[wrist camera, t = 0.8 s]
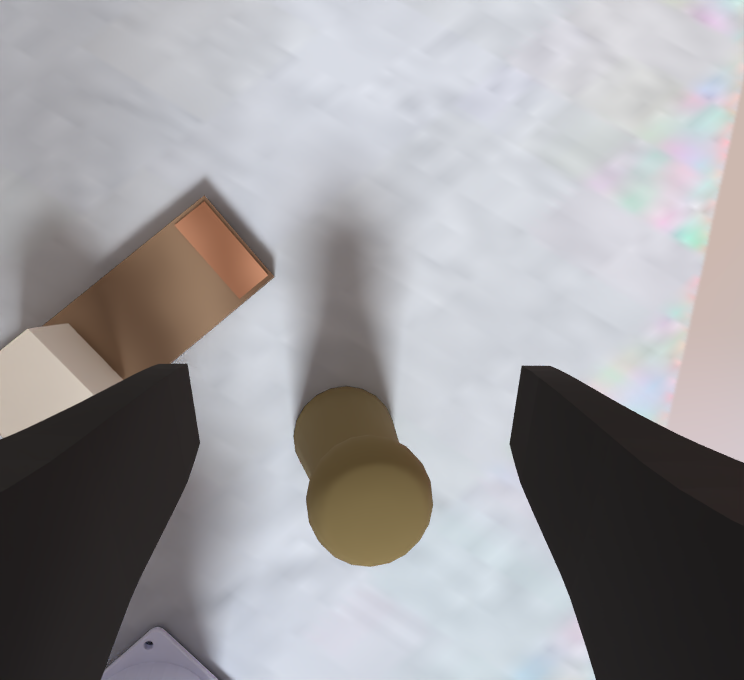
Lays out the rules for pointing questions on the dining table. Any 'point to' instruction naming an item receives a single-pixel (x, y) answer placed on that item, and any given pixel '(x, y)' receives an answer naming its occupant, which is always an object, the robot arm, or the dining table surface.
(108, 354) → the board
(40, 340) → the cream cube block
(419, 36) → the dining table surface
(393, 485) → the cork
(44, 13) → the dining table surface
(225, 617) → the dining table surface
